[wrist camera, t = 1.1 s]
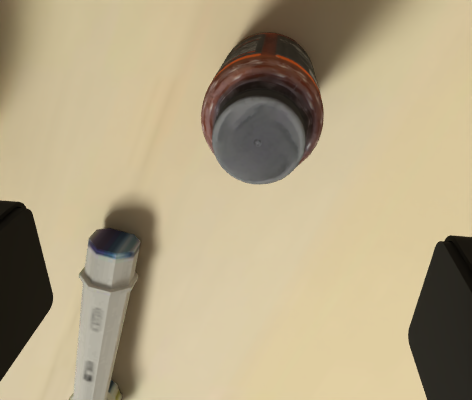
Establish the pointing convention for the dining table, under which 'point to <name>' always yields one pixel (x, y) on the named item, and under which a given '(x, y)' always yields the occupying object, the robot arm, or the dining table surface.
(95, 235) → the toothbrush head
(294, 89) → the supplement bottle
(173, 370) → the dining table surface
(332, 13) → the dining table surface
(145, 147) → the dining table surface
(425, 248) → the dining table surface
